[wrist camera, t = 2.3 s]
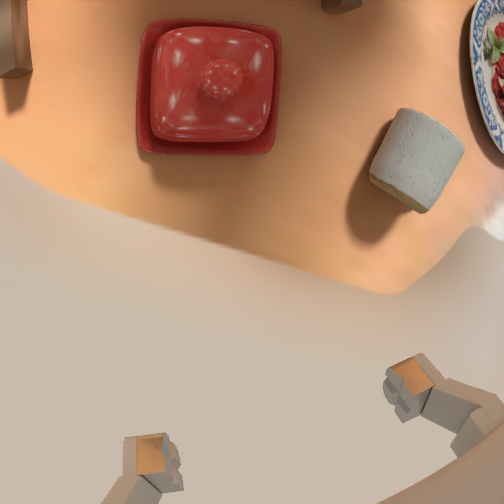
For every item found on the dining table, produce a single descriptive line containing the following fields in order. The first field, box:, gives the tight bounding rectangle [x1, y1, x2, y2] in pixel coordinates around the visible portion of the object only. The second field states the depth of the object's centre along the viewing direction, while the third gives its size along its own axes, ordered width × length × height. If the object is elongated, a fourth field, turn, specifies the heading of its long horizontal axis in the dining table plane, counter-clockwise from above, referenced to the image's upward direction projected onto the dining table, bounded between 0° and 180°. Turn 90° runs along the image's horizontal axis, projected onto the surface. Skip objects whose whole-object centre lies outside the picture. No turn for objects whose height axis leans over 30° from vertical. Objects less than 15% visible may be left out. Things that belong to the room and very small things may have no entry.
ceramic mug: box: [369, 108, 465, 214], centre depth 27 cm, size 11×8×8 cm
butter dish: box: [136, 19, 281, 155], centre depth 20 cm, size 12×12×8 cm
